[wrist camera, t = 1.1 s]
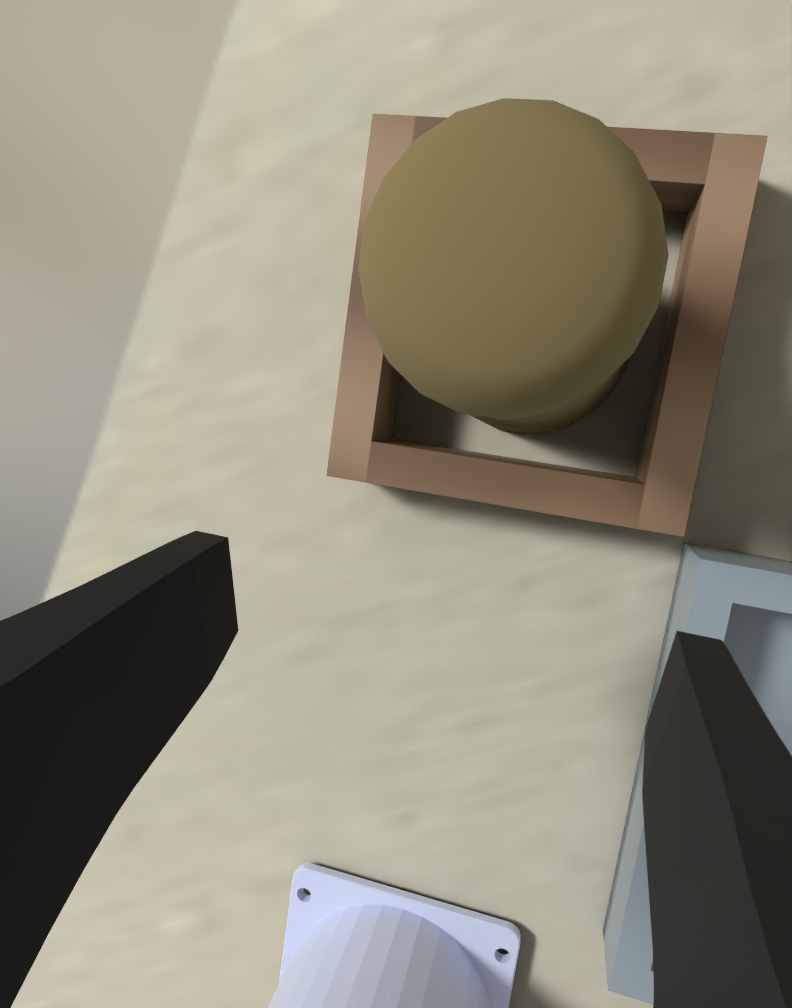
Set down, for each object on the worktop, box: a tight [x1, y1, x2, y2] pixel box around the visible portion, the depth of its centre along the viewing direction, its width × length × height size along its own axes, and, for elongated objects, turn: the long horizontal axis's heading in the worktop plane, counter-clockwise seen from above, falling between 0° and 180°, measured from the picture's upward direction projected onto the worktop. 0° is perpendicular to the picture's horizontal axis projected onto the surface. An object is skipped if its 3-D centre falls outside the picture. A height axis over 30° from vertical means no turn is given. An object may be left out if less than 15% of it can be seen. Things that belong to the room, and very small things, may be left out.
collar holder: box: [327, 114, 768, 537], centre depth 20 cm, size 10×10×2 cm
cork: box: [358, 99, 668, 434], centre depth 16 cm, size 6×6×11 cm
